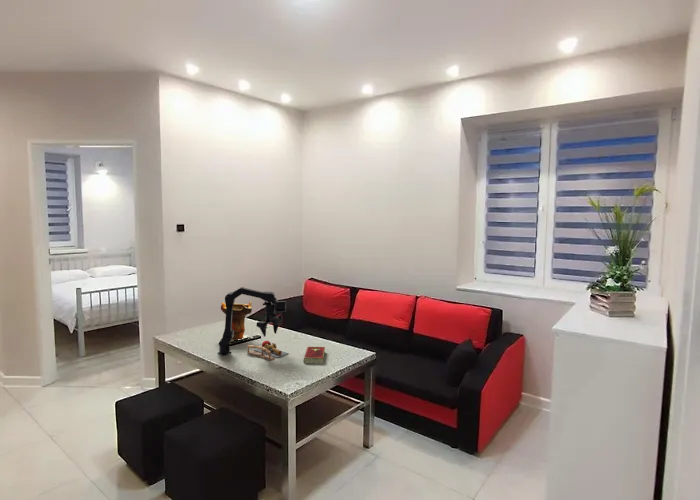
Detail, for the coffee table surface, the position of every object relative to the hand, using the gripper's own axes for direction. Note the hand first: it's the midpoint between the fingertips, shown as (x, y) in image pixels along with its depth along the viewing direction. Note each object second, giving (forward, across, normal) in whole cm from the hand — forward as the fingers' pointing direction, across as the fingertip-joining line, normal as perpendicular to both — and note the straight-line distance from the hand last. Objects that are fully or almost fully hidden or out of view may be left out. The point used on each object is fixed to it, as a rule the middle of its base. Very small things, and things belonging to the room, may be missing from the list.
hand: (270, 335), depth 266 cm
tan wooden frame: (+12, -8, 0) cm, 14 cm away
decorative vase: (+12, +7, +42) cm, 44 cm away
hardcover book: (+12, +11, -29) cm, 33 cm away
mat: (+12, +1, 0) cm, 12 cm away
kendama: (+11, 0, -1) cm, 11 cm away
